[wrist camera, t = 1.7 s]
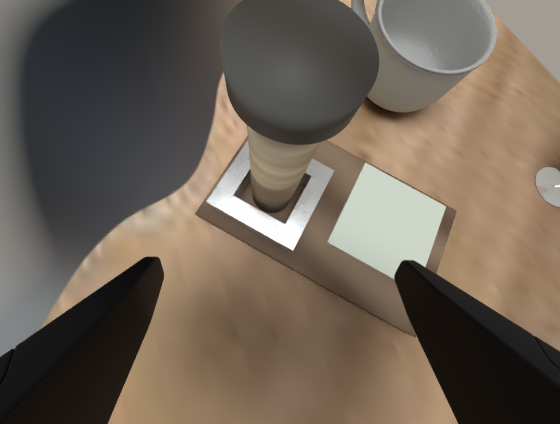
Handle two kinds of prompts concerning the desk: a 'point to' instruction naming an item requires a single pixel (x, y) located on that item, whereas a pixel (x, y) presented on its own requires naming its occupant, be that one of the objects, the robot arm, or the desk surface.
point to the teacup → (426, 48)
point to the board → (323, 257)
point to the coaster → (386, 222)
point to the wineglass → (549, 185)
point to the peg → (294, 84)
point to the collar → (258, 221)
